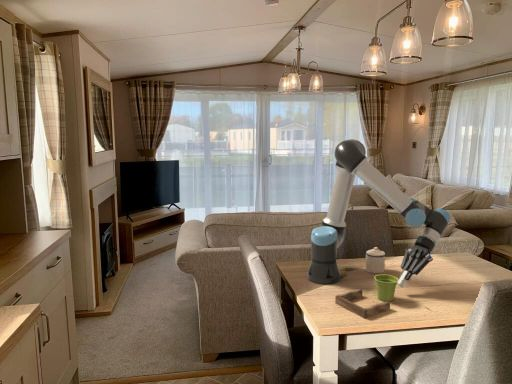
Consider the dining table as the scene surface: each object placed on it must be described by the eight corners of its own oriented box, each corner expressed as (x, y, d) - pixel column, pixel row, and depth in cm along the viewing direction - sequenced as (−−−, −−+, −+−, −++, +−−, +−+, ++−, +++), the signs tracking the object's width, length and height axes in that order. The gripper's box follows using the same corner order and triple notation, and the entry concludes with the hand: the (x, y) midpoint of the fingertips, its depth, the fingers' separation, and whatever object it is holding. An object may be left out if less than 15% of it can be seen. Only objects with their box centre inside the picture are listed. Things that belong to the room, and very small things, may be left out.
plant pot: (376, 292, 169) (377, 272, 167) (399, 296, 164) (400, 276, 162) (370, 300, 161) (371, 279, 159) (395, 305, 156) (395, 284, 154)
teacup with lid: (388, 272, 191) (389, 249, 190) (372, 274, 189) (373, 251, 187) (373, 264, 203) (374, 242, 201) (358, 266, 200) (359, 244, 198)
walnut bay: (360, 295, 165) (360, 288, 165) (389, 309, 152) (390, 301, 152) (335, 303, 158) (335, 295, 158) (364, 318, 145) (364, 310, 145)
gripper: (444, 249, 168) (417, 295, 162) (417, 241, 179) (391, 284, 173) (437, 238, 164) (409, 285, 158) (410, 232, 175) (383, 275, 169)
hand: (399, 285), depth 166 cm, fingers closed
